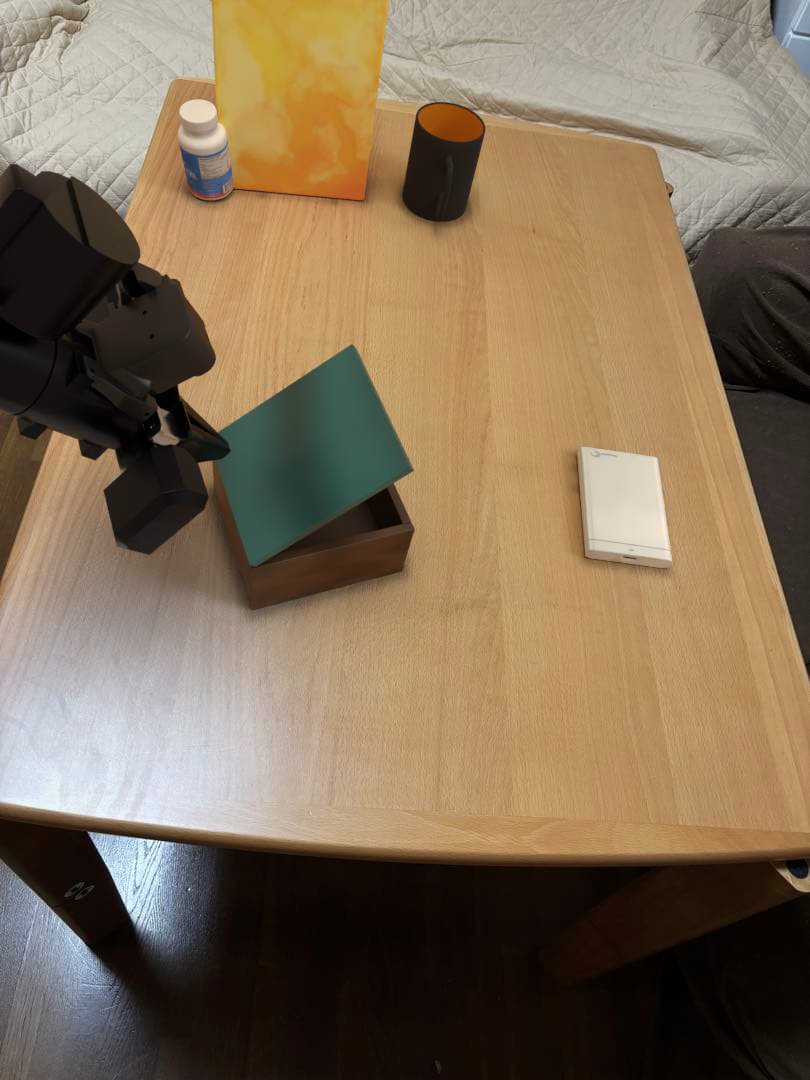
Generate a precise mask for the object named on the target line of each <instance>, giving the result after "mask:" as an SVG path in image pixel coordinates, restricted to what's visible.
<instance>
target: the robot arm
mask: <svg viewBox="0 0 810 1080" xmlns="http://www.w3.org/2000/svg"><path fill="white" fill-rule="evenodd" d="M140 259H141V248H140V244H139V242H138V240H137V237H136V236H135V234H134V233H133V231H132V230H131V228H130V226H129V225H128V224H127V222H126V221H125V220H124V218H122V216H121V215H120V214H119V213H118V211H116V210H115V208H114V207H113V206H112V205H111V204H110V203H109V202H108V201H107V200H106V199H105V198H103V197H102V196H101V195H100V194H99V193H98V192H97V191H96V190H94V189H93V188H91V187H90V186H89V185H87V184H86V183H85V182H83V181H81V180H80V179H79V178H78V177H75V176H73V175H71V176H69V177H67V176H65V175H63V174H61V173H58V172H54V171H51V170H43V171H40V172H39V173H37V174H36V175H35V174H33V173H32V172H30V171H29V170H27V169H26V168H24V167H22V166H21V165H19V164H18V163H10V164H9V165H8V166H7V167H6V169H4V171H3V172H2V174H0V412H2V413H4V414H7V415H9V416H11V417H14V418H15V419H16V424H17V429H18V434H19V436H22V437H26V438H29V439H31V440H34V441H36V440H37V439H38V438H39V437H40V436H42V434H43V433H44V432H45V431H46V430H51V431H54V432H55V433H59V434H61V435H65V436H67V437H69V438H73V439H75V440H77V443H78V447H79V452H80V455H81V457H83V458H86V459H89V460H92V461H94V462H95V461H97V460H98V459H99V458H100V457H101V456H102V455H103V454H105V452H106V451H108V450H113V451H114V453H115V457H116V461H117V465H118V470H119V473H120V474H119V475H118V476H117V477H116V478H115V479H114V480H113V481H111V482H110V483H109V484H108V485H107V486H106V487H105V488H104V489H103V490H102V492H103V495H104V499H105V502H106V509H107V512H108V516H109V520H110V524H111V529H112V532H113V537H114V541H115V543H116V547H118V548H121V549H124V550H127V551H131V552H135V553H139V554H143V555H147V556H151V555H152V554H153V553H154V552H155V551H157V550H158V549H159V548H160V547H161V546H163V545H164V544H165V543H166V542H167V541H169V540H170V539H171V538H173V536H175V535H176V534H177V533H178V532H179V531H180V530H182V529H183V528H185V527H186V526H187V525H188V524H189V523H190V522H192V521H193V520H194V519H195V518H196V517H197V516H199V515H200V514H201V513H202V512H203V511H205V510H206V506H207V503H208V500H209V498H210V497H209V493H208V490H207V487H206V484H205V480H204V477H203V474H202V471H201V468H200V464H199V463H206V462H212V461H213V460H220V459H223V458H224V457H225V456H227V455H228V454H229V453H230V452H231V450H230V447H229V444H228V442H227V441H226V440H225V439H224V438H223V437H222V436H221V435H220V434H219V433H218V432H219V431H217V430H216V429H215V428H214V427H213V426H212V425H211V424H210V423H209V422H208V421H207V420H205V418H204V417H203V416H201V415H200V414H199V413H198V412H197V411H196V409H194V408H193V407H192V406H191V405H190V404H189V402H187V401H186V400H185V399H184V397H182V395H181V394H180V389H179V385H180V384H182V383H185V382H186V381H188V380H190V379H192V378H194V377H201V376H203V375H205V374H207V373H208V372H210V371H211V370H212V368H213V367H214V366H215V364H216V361H217V355H216V352H215V349H214V347H213V346H212V342H211V340H210V337H209V335H208V332H207V329H206V324H205V321H204V320H203V318H202V317H201V316H200V314H199V313H198V311H196V309H195V308H194V307H193V305H192V304H191V303H190V301H189V300H188V299H187V297H186V295H185V293H184V290H183V287H182V286H183V285H182V284H181V282H180V280H179V279H177V278H170V276H169V275H168V274H167V273H166V274H164V275H162V273H160V272H159V271H158V270H156V269H154V268H152V267H150V266H147V265H145V264H143V263H141V262H139V261H140Z"/></svg>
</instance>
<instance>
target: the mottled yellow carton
mask: <svg viewBox="0 0 810 1080" xmlns="http://www.w3.org/2000/svg"><path fill="white" fill-rule="evenodd" d="M389 8H390V0H211V18H212V19H211V20H212V45H213V46H212V47H213V65H214V66H213V67H214V68H213V69H214V91H215V107H216V110H217V116H218V123H220V124H222V125H223V126H224V128H225V130H226V133H227V140H228V146H229V153H230V160H231V167H232V173H233V179H234V186H233V189H234V190H244V191H245V190H246V191H255V192H266V193H275V194H276V193H277V194H287V195H298V196H309V197H319V198H329V199H330V198H331V199H342V200H351V201H364V200H365V196H366V188H367V180H368V172H369V164H370V157H371V156H370V155H371V149H372V142H373V141H372V140H373V132H374V124H375V117H376V109H377V103H378V102H377V101H378V92H379V86H380V76H381V70H382V61H383V55H384V54H383V53H384V45H385V37H386V31H387V23H388V14H389ZM233 189H232V190H233Z"/></svg>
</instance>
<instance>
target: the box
mask: <svg viewBox="0 0 810 1080" xmlns="http://www.w3.org/2000/svg"><path fill="white" fill-rule="evenodd" d="M211 462H212V476H213V478H212V479H213V492H214V495H215V498H216V502H217V505H218V508H219V510H220V513H221V517H222V520H223V523H224V526H225V530H226V533H227V536H228V538H229V542H230V545H231V548H232V551H233V555H234V557H235V560H236V564H237V567H238V570H239V573H240V576H241V578H242V583H243V587H244V588H245V592H246V596H247V599H248V602H249V604H250V607H251V610H252V611H255V610H259V609H262V608H266V607H269V606H273V605H278V604H280V603H281V604H282V603H285V602H289V601H292V600H293V601H294V600H297V599H301V598H304V597H307V596H311V595H316V594H319V593H324V592H327V591H331V590H334V589H339V588H342V587H346V586H350V585H354V584H358V583H362V582H365V581H370V580H373V579H377V578H381V577H384V576H388V575H392V574H396V573H399V572H403V570H404V567H405V563H406V560H407V556H408V552H409V550H410V546H411V543H412V541H413V537H414V534H415V530H416V529H415V526H414V525H413V522H412V519H411V518H410V516H409V514H408V512H407V509H406V507H405V505H404V503H403V500H402V498H401V496H400V494H399V492H398V489H397V487H396V485H395V483H393V484H391V485H390V486H388V487H387V488H385V489H383V490H382V491H380V492H378V493H377V494H375V495H373V496H372V497H370V498H368V499H367V500H365V501H363V502H362V503H360V504H358V505H357V506H355V507H354V508H352V509H350V510H349V511H347V512H345V513H344V514H342V515H340V516H339V517H337V518H335V519H334V520H332V521H330V522H329V523H327V524H325V525H324V526H322V527H321V528H319V529H317V530H316V531H314V532H312V533H311V534H309V535H307V536H306V537H304V538H302V539H301V540H299V541H297V542H296V543H294V544H292V545H291V546H289V547H287V548H286V549H284V550H283V551H281V552H279V553H278V554H276V555H274V556H273V557H271V558H269V559H268V560H266V561H264V562H263V563H261V564H259V565H258V566H256V567H254V566H252V565H250V564H249V562H248V559H247V556H246V553H245V550H244V547H243V544H242V540H241V537H240V534H239V531H238V528H237V525H236V522H235V519H234V516H233V513H232V510H231V507H230V504H229V501H228V498H227V495H226V492H225V489H224V486H223V483H222V480H221V476H220V473H219V470H218V467H217V464H216V461H215V460H213V461H211Z"/></svg>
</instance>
